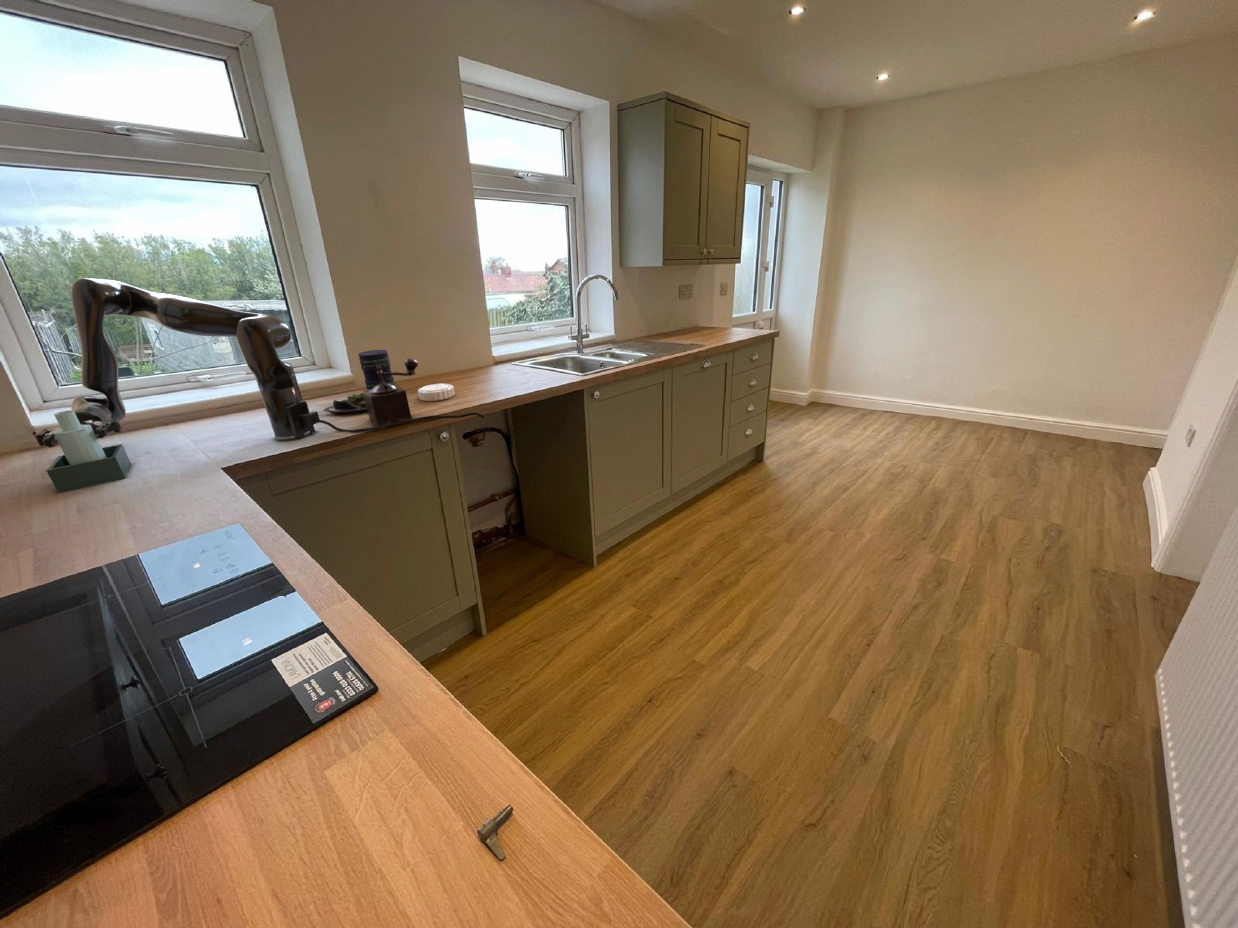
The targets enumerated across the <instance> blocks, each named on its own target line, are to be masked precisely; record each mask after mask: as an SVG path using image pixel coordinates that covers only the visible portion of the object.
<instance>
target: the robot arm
mask: <svg viewBox="0 0 1238 928" xmlns="http://www.w3.org/2000/svg"><path fill="white" fill-rule="evenodd" d="M70 290H71V291H70V297H71V298H70V299H71V304H72V310H73V314H74V319H75V325H76V330H77V334H78V338H79V339H78V340H79V343H80V352H81V371H80V372H81V378H80V379H81V385H82V387H84V388H85V389H88V390H90V391H93V392H98V393H101V394H102V395H104V397H103V396H95V395H88V394H87V395H86V394H85V395H84V394H83V395H78V396H76V397H74V399H73V400H72V402H71V406H70V410H74V412H75V414H76V416H77V418H78V420H79V422H80V424H81V425H86V424H87V425H91V427H92V429H93V431H94V433H95V435H96V437H97V439H98V440H99V439H104V438H105V437H106V436H109V435H111V433H112V432H114V433H120V432H121V431H122V429H123V425H122V423H121V421H123V420H124V418H125V417H126V414H127V413H126V412H127V411H126V407H125V405H124V402H123V399H122V396H121V394H120V389H119V360H118V357H117V355H116V353H115V351H114V349H113V347H112V346H111V344H110V343H109V341H108V340H107V337H106V335H105V332H104V319H105V318H104V317H106V316H113V317H115V316H118V317H119V316H121V317H122V316H124V317H125V316H126V317H137V318H143V319H148V320H152V321H155V322H156V323H158V324H159V325H161V326H162V327H164V328H167V329H169V330H172V331H175V332H179V333H184V334H189V335H193V336H202V337H219V338H220V337H225V338H227V337H229V338H236V340H237V343H238V346H239V347H240V351H241V354H242V355H243V358H244V361H245V363H246V365H247V367H248V369H249V370H250V371H251V373H252V374H253V375H254V378H255V381H256V384H257V386H258V391H259V392H260V395H261V398H262V402H263V404H264V408H265V411H266V413H267V414H266V415H267V416H268V419H269V422H270V426H271V428H272V431H273V434H274V438H275V440H277V441H290V440H300V439H302V438H305V437H307V436H309V435H311V434H314V433H315V432H316V428H315V425H317V424H318V423H321V424H324V425H326V426H329V427H330V428H331V429H333V430H335V431H338V432H343V433H344V432H345V433H359V432H368V431H369V432H370V431H375V430H380V429H383V428H387V427H392V426H397V425H402V424H406V423H412V422H417V421H422V420H430V419H461V418H465V417H470V416H478V417H481V418H482V419H486V416H485V415H484V414H482V413H481V412H476V411H475V412H474V411H473V412H467V413H463V414H456V415H455V414H454V415H453V414H452V415H451V414H446V415H443V414H442V415H440V414H439V415H426V416H420V417H419V416H418V417H415V418H412V419H409V420H404V421H399V422H394V423H389V424H385V425H381V426H372V427H365V428H357V429H345V428H340V427H337V426H335V425H334V424H332V423H331V422H329V421H327V420H324V419H320V415H319V412H318V411H316V410H315V411H310V409H309V406H308V402H307V401H306V400H304V399H303V395H302V393H301V390H300V386H299V383H298V379H297V376H296V372H295V369H294V365H292V363H290V362H286V361H283V360H281V359H280V357H279V355H278V352H277V350H279V349H282V348H284V347H285V346H287V345H288V344H289V342H290V341H291V338H292V332H291V330H290V328H289V326H288V324H286V322H284V320H282V319H280V318H279V317H277V316H275V315H271V314H264V313H255V312H249V311H243V310H242V311H241V310H236V309H232V308H229V307H225V306H221V305H217V304H213V303H209V302H205V301H202V300H199V299H194V298H189V297H185V296H181V295H175V294H169V293H160V292H154V291H149V290H146V289H142V288H140V287H136V286H134V285H130V284H128V283H125V282H121V281H118V280H114V279H108V278H107V279H106V278H105V279H103V278H90V277H89V278H88V277H81V278H78V279H77V280H75V281H74V282H73V283H72V286H71V288H70ZM59 429H61V427H60V426H59V427H56V428H53V431H51V430H50V429H49V428H44V429H42V430H40V431H39V432H37V433H36V434H35V435H34V438H35V440H36V442H37V444H38V445H39V446H40V447H43V446H45V447H48V448H50V449H51V448H54V447H55V446H56V445H57V444H59V443H58V441H57V439H56V437H55V435H54V433H53V432H54V431H56V430H59Z"/></svg>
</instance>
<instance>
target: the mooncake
mask: <svg viewBox="0 0 1238 928" xmlns="http://www.w3.org/2000/svg"><path fill="white" fill-rule="evenodd" d="M417 393H418V399H419V400H421V401H422V402H423V401H424V402H437V401H443V400H447V399H451V398H452V397H454V396H455V388H454V385H452V384H450V383H445V382H444V383H434V384H428V385H424V386H423V387H420V388H418V390H417Z"/></svg>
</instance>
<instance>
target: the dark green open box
mask: <svg viewBox="0 0 1238 928" xmlns="http://www.w3.org/2000/svg"><path fill="white" fill-rule="evenodd" d="M102 449H103V451H104V453H105V455H106V457H107V458H104V459H99V460H94V461H89V462H84V463H79V464H74V465H70V464H69V462H68V460H67V458H66V456H65V454H63V455H58V456H56V458H55V459H54V460H53V462H52V463H51V464H50V465H49V466H48V468H47V469H46V470H45V472H46V474H47V476H48V477H49V478H50V480H51V482H52V484H53V486H54V488H55V490H56V491H57V493H63V492H68V491H72V490H76V489H81V488H85V487H90V486H95V485H100V484H104V483H109V482H114V481H117V480H122V479H126V478H127V476H128V474H129V470H130V468H131V466H132V461H131V460H130V458H129V456H128V454H127V452H126V450H125V447H124V445H123V444H122V443H121V444H116V445H111V446H106V447H105V446H104V447H102Z"/></svg>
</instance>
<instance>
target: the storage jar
mask: <svg viewBox="0 0 1238 928" xmlns="http://www.w3.org/2000/svg"><path fill="white" fill-rule="evenodd" d="M388 353H389V352H388V350H387V349H375V350H373V349H372V350H367V351H362V352H359V353H358V355H357V356H358V357H359V358H358V359H359V365H360V368H361V370H362V372H363V376H364V384H365V389H366V390H369V389H373V388H374V387H375V386H377V385H379V384H380V378H379V374H378V373H377V371H378V370H377V366H380V367H381V371H382V372H387V373H388V372H392V368H391V365H392V364H391V360H390V356H389V354H388ZM382 377H383V381H384V383H388V384H392V385H396V382H395V379H394V375H384V374H382Z"/></svg>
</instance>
